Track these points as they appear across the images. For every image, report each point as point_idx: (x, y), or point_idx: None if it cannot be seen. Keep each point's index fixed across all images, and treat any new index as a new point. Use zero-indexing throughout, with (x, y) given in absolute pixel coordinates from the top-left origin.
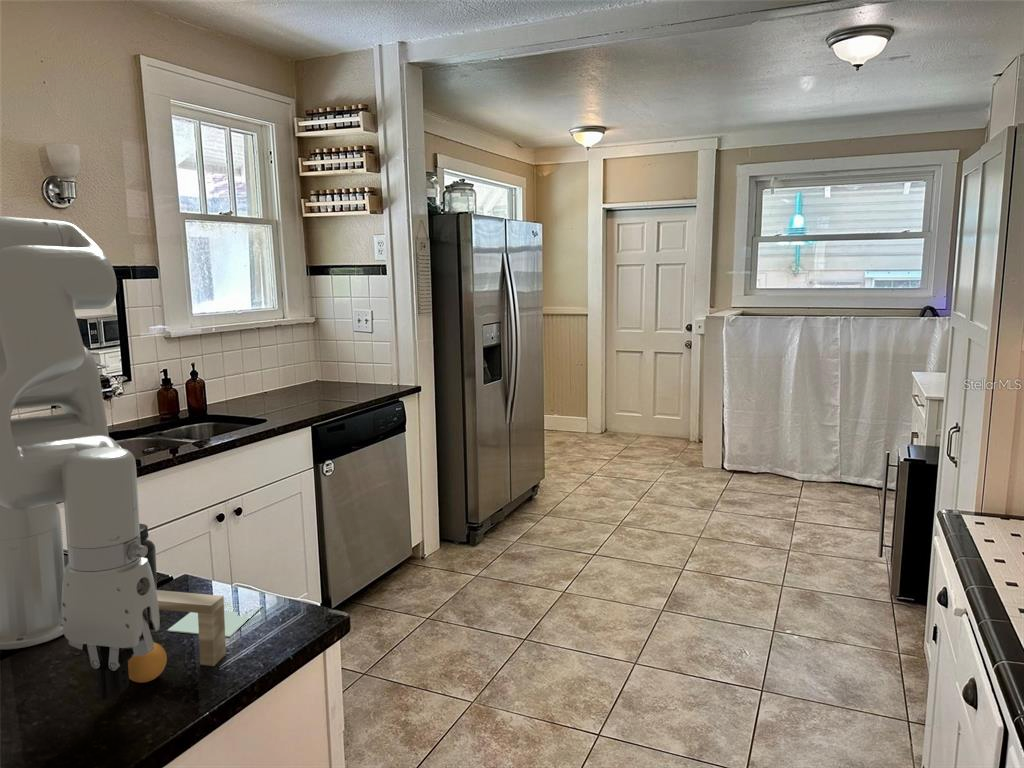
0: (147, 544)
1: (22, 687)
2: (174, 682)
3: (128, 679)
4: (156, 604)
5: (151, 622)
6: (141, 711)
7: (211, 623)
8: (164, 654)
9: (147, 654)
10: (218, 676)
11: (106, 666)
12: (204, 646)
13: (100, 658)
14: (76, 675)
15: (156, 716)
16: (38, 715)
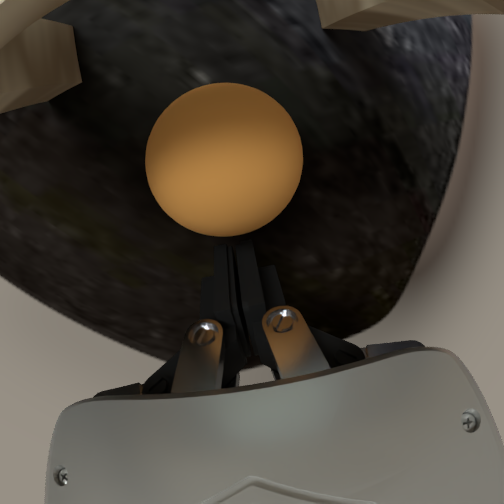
0: None
1: (27, 280)
2: (315, 127)
3: (275, 272)
4: (501, 469)
5: (425, 380)
6: (321, 250)
7: (466, 13)
8: (296, 129)
9: (278, 207)
10: (405, 77)
11: (244, 350)
12: (370, 18)
13: (237, 385)
14: (46, 212)
15: (362, 251)
16: (136, 322)
